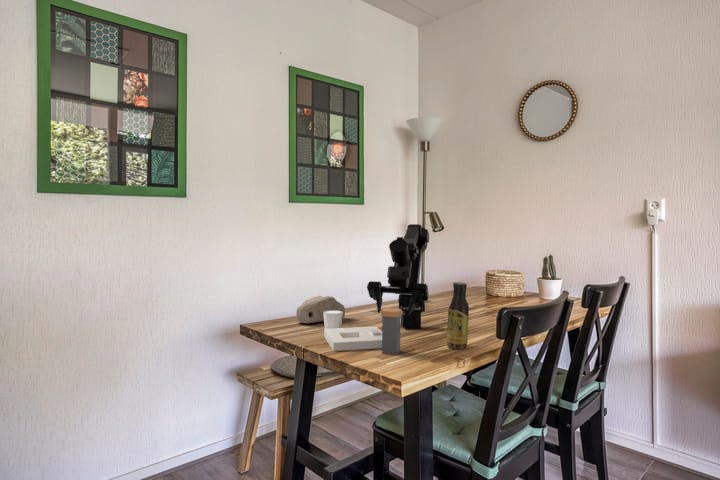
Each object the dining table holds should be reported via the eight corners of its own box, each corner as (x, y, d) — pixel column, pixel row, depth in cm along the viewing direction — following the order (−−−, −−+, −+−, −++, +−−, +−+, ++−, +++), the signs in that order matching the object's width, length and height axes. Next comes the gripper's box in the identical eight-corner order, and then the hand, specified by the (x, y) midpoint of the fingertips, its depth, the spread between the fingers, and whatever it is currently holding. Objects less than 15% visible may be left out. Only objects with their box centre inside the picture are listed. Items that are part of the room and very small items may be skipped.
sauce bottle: (442, 347, 138) (443, 282, 138) (454, 343, 143) (455, 281, 142) (461, 351, 134) (462, 284, 133) (472, 347, 138) (473, 283, 137)
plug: (384, 349, 136) (385, 308, 135) (401, 350, 134) (401, 308, 134) (380, 353, 131) (381, 311, 131) (397, 355, 130) (398, 312, 129)
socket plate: (376, 333, 155) (376, 324, 155) (391, 347, 138) (391, 336, 138) (324, 336, 151) (324, 326, 151) (333, 351, 134) (333, 340, 133)
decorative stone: (301, 327, 165) (301, 300, 164) (291, 323, 171) (291, 297, 171) (347, 320, 176) (347, 295, 176) (336, 317, 183) (337, 292, 182)
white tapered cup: (340, 334, 154) (340, 314, 154) (320, 333, 155) (320, 313, 155) (344, 329, 160) (344, 310, 160) (326, 328, 162) (326, 309, 162)
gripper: (368, 255, 142) (358, 295, 132) (427, 257, 137) (421, 298, 127) (375, 278, 150) (365, 317, 140) (431, 280, 145) (425, 321, 134)
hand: (393, 313), depth 135 cm, fingers open, 9 cm apart
